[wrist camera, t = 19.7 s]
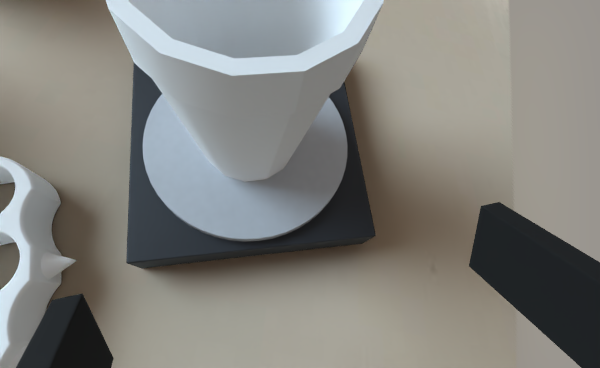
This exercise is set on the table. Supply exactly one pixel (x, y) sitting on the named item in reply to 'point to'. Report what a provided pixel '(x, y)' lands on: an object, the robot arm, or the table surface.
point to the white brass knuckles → (27, 258)
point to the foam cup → (246, 69)
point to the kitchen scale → (239, 190)
